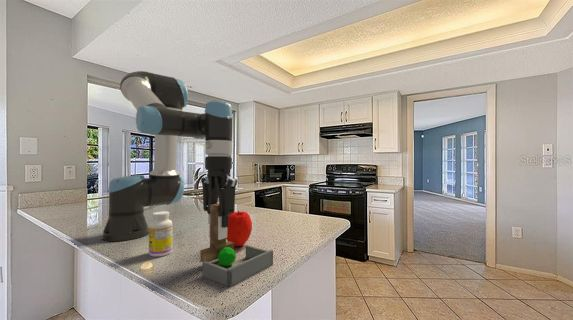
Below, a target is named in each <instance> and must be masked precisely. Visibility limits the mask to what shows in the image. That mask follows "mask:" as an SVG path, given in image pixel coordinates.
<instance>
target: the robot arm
mask: <svg viewBox="0 0 573 320" xmlns="http://www.w3.org/2000/svg"><path fill="white" fill-rule="evenodd" d="M119 89H120V92H121V94H122V95H123V97H124V98H125V100H127V101H129V102H130V103H131V104H132V106H133V107H134V108H135V110H136V114H135V125H136V128H137V130H138V132H139V133H141V134H147V135H148V134H149V135H151V136H152V135H153V136H154V148H153V149H154V152H153V153H154V156H153V169H152V170H151V171H150V172H149V176H148V177H145V176H144V175H143V174H135V175H128V176H121V177H116V178H112V179H111V180H110V181H109V182H108V183H109V185H108V191H107V193H108V218H107V221H106V223H105V226H104V229H103V231H102V240H104V241H106V242H121V241H123V242H124V241H130V240H134V239H138V238H142V237H145V236H146V235H149V224H148V222H147V220H146V217H145V207H154V206H155V207H156V206H164V205H166V206H168V205H172V204H177V203H179V202H180V201H181V199H182V198H183V195H184V191H185V181H184V178H183V177H181V176H180V172H179V171H178V170H177V153H178V152H177V151H178V137H183V138H184V137H186V138H193V139H200V140H204V142H205V143H204V144H205V146H204V147H205V148H204V149H205V150H204V154H205V155H206V156H205V157H204V168H205V170H207V174H206V176H205V177H201V178H200V182H201V185H202V205H203V208H202V209H203V211H204V212H207V214H208V237H209V238H210V205H212V204H218V203H219V207H220V214H219V215H218V240H221V239H224V238H227V227H228V216H229V215H230V214H233V213H234V212H235V205H236V204H235V203H236V202H235V201H236V187H237V184H238V179H237V178H233V177H231V173H230V170H231V169H232V168H233V158H232V155H233V118H234V116H233V107H232V105H231V104H230V103H228V102H226V101H222V100H221V101H220V100H210V101H208V102H207V103H205V108H204V113H203V112H202V113H197V112H192V111H184V110H183V108H186V107H187V106H188V102H189V91H188V87H187V85H186V83H185V82H184V81H183V80H181V79H179V78H175V77H174V76H172V77H171V76H167V75H162V74H157V73H153V72H150V71H149V72H148V71H143V70H138V71H132V72H130V73H127V74H125V76H123V77H122V79H121V81H120V82H119ZM224 210H225V211H224Z"/></svg>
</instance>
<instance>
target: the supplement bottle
mask: <svg viewBox="0 0 573 320" xmlns="http://www.w3.org/2000/svg"><path fill="white" fill-rule="evenodd" d="M169 217H170V212H169V211H164V210H163V211H157V212H153V213H152V219H153V220H152V221H150V223H149V224H148V228H149V229H148V255H149V256H150V257H153V258H157V257H158V258H159V257H165V256H167V255H170V254H171V253H172V252H173V221H172V220H171V219H169Z"/></svg>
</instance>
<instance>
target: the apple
mask: <svg viewBox="0 0 573 320" xmlns="http://www.w3.org/2000/svg"><path fill="white" fill-rule="evenodd" d="M252 230H253V222H252V218H251V216H250V214H249V213H248V212H247V211H240V210H238V211H234V213H233V214H230V215H229V216H228V227H227V238H226V242H228V241H230V242H233V243H234V248H235V247H242V246H244V245H245V244H246V243H247V242H248V240H249V238H250V237H251V234H252Z"/></svg>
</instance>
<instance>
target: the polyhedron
mask: <svg viewBox="0 0 573 320" xmlns="http://www.w3.org/2000/svg"><path fill="white" fill-rule="evenodd" d="M236 258H237V254H236V250H235V249H234V250H233V249H232V248H230V247H225V248H224V249H222V250H221V251H220V252H219V253H218V259H217V260H218V264H219V265H220V266H221V267H229V266H231V265H233V264H234V262H235V261H236Z"/></svg>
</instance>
